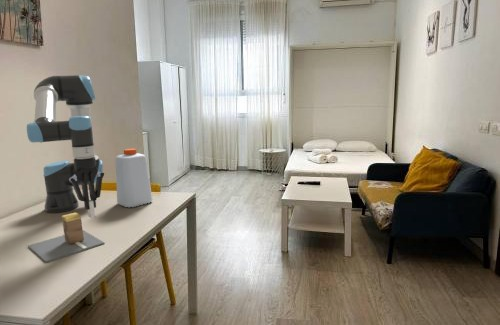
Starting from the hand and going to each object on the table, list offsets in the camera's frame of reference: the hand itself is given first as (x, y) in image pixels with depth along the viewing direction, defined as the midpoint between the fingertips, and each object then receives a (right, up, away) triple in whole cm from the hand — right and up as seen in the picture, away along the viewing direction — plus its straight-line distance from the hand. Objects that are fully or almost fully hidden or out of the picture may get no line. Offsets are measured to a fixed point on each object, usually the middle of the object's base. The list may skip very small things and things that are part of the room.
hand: (91, 216), depth 141 cm
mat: (-7, -10, -6) cm, 13 cm away
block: (-5, -9, -4) cm, 11 cm away
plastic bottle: (+3, 0, +45) cm, 45 cm away
